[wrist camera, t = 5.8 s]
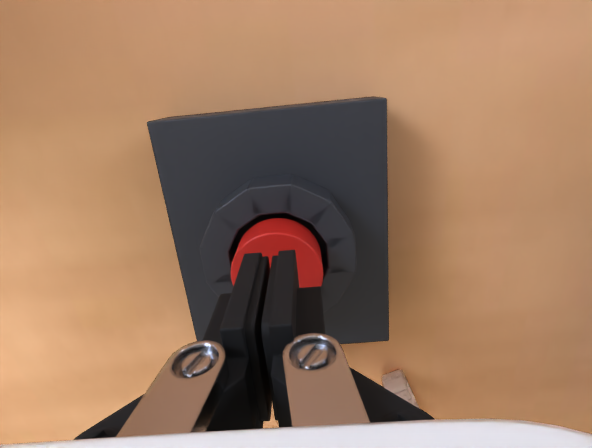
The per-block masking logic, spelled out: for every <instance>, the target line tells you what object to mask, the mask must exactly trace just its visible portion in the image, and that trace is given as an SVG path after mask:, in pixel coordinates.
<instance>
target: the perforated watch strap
mask: <svg viewBox="0 0 592 448" xmlns="http://www.w3.org/2000/svg"><path fill="white" fill-rule="evenodd" d="M382 382H383V387H384V388H386V389H387V390H389V391H391V392H392V393H394V394H396V395H397V396H399V397H401V398H402V399H404V400H406V401H408V402H409V403H411V404H413V405H414V406H416V407H418V408H419V406H418V404H417V402H416V399H415V397H414V395H413V393H412V390H411V388H410V386H409V384H408V381H407V379H406V377H405V375H404V373H403V371H402V370H401V369H399V370H396V371H393V372H390V373H388V374H384V375H382Z"/></svg>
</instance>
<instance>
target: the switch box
mask: <svg viewBox="0 0 592 448" xmlns="http://www.w3.org/2000/svg"><path fill="white" fill-rule="evenodd" d="M147 126H148V130H149V134H150V139H151V143H152V147H153V152H154V156H155V160H156V165H157V169H158V173H159V178H160V182H161V186H162V191H163V195H164V199H165V204H166V208H167V213H168V217H169V221H170V226H171V230H172V234H173V239H174V243H175V247H176V252H177V256H178V260H179V265H180V269H181V273H182V278H183V282H184V286H185V291H186V295H187V299H188V304H189V308H190V313H191V317H192V321H193V326H194V330H195V334H196V339H197V341H203V338H204V335H205V333H206V330H207V327H208V325H209V322H210V319H211V317H212V314H213V312H214V309H215V306H216V304H217V301H218V298H219V296H220V294H225V293H232V290H233V287H234V286H233V284H232V280H231V265H232V261H233V258H234V255H235V253H236V250H237V248H238V245H239V243H240V240H241V239H242V237H243V235H244V234H245V233H246V231H247V230H248V229H249V228H251V227H252V226H253V225H255V224H257V223H258V222H261V221H263V220H266V219H271V218H286V219H291V220H294V221H296V222H298V223H300V224H302V225H304V226H305V227H306V228H308V229H309V230H310V231H311V232H312V234H313V235H314V236H315V238H316V239H317V241H318V243H319V246H320V251H321V258H322V265H323V282H322V285H321V293H322V303H323V314H324V324H325V334H326V335H329V336H331V337H333V338H334V339H336V340H337V341H338V342H339V344H349V343H363V342H377V341H388V340H389V291H388V180H387V99H386V98H382V97H364V98H354V99H344V100H334V101H324V102H314V103H304V104H294V105H284V106H274V107H264V108H254V109H244V110H234V111H224V112H215V113H205V114H195V115H185V116H175V117H167V118H162V119H158V120H153V121H149V122H147Z"/></svg>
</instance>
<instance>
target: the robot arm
mask: <svg viewBox="0 0 592 448" xmlns="http://www.w3.org/2000/svg"><path fill="white" fill-rule="evenodd" d="M272 403H273V409H274V415H275V420H278V423H279V428H263V421H270V417H271V406H272ZM0 448H592V434H590V433H586V432H582V431H578V430H574V429H570V428H566V427H562V426H558V425H552V424H545V423H538V422H531V421H524V420H509V419H436V420H435V419H434V418H433V417H431V416H430V415H429V414H427V413H426V412H424V411H423V410H421V409H419V408H418V407H416V406H414V405H413V404H411V403H409V402H408V401H406V400H404V399H402V398H401V397H399V396H397V395H396V394H394V393H392V392H391V391H389V390H387V389H386V388H384V387H382V386H381V385H379V384H377V383H375V382H374V381H372V380H370V379H369V378H367V377H365V376H364V375H362V374H360V373H359V372H357V371H355V370H354V369H352V368H350V367H349V365H348V362H347V360H346V357H345V355H344V352H343V349H342V347H341V345H340V344H339V342H338V341H337V340H336V339H334V338H333V337H331V336H329V335H326V334H325V324H324V314H323V303H322V293H321V286H317V287H304V288H299V279H298V269H297V260H296V252H295V250H284V251H279V252H278V255H276V256H272V262H271V268H270V265H269V258H268V256H262V253H261V252H259V253H247V254H244V256H243V259H242V262H241V265H240V268H239V271H238V274H237V277H236V281H235V284H234V287H233V290H232V293H225V294H220V296H219V298H218V301H217V304H216V306H215V309H214V312H213V314H212V317H211V319H210V322H209V325H208V327H207V330H206V333H205V335H204V338H203V341H197V342H193V343H189V344H187V345H185V346H183V347H181V348H180V349H178V350H177V351H176V352H174V353H173V354H172V355H171V357H170V358H169V359H168V360H167V362H166V363H165V365H164V366H163V368H162V369H161V371H160V372H159V374H158V375H157V377H156V378H155V380H154V381H153V383H152V384H151V386H150V387H149V388H148V390H147V391H146V393H145V394H144V395H142V396H140V397H139V398H137V399H136V400H134V401H132V402H131V403H129V404H128V405H126V406H124V407H123V408H121V409H120V410H118V411H116V412H115V413H113V414H112V415H110V416H108V417H107V418H105V419H104V420H102V421H100V422H99V423H97V424H96V425H94V426H92V427H91V428H89V429H88V430H86V431H85V432H83V433H81V434H80V435H79V436H77V437H76V438H75V439H73V440H64V441H48V442H33V443H17V444H1V445H0Z"/></svg>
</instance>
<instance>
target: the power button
mask: <svg viewBox="0 0 592 448" xmlns="http://www.w3.org/2000/svg"><path fill="white" fill-rule="evenodd" d="M284 250H295V252H296V260H297V269H298V279H299V288H304V287H317V286H321V285H322V282H323V265H322V258H321V251H320V246H319V243H318V241H317V239H316V238H315V236H314V235H313V234H312V232H311V231H310V230H309V229H308V228H306V227H305V226H304V225H302V224H300V223H298V222H296V221H294V220H291V219H286V218H271V219H266V220H263V221H261V222H258V223H257V224H255V225H253V226H252V227H251V228H249V229H248V230H247V231H246V233H245V234H244V235H243V237H242V239H241V240H240V243H239V245H238V248H237V250H236V253H235V255H234V258H233V261H232V265H231V280H232V284H233V286H234V284H235V281H236V277H237V274H238V271H239V268H240V265H241V262H242V259H243V256H244V254H247V253H259V252H261V253H262V256H268V258H269V265H270V268H271V262H272V256H276V255H278V252H279V251H284Z"/></svg>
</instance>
